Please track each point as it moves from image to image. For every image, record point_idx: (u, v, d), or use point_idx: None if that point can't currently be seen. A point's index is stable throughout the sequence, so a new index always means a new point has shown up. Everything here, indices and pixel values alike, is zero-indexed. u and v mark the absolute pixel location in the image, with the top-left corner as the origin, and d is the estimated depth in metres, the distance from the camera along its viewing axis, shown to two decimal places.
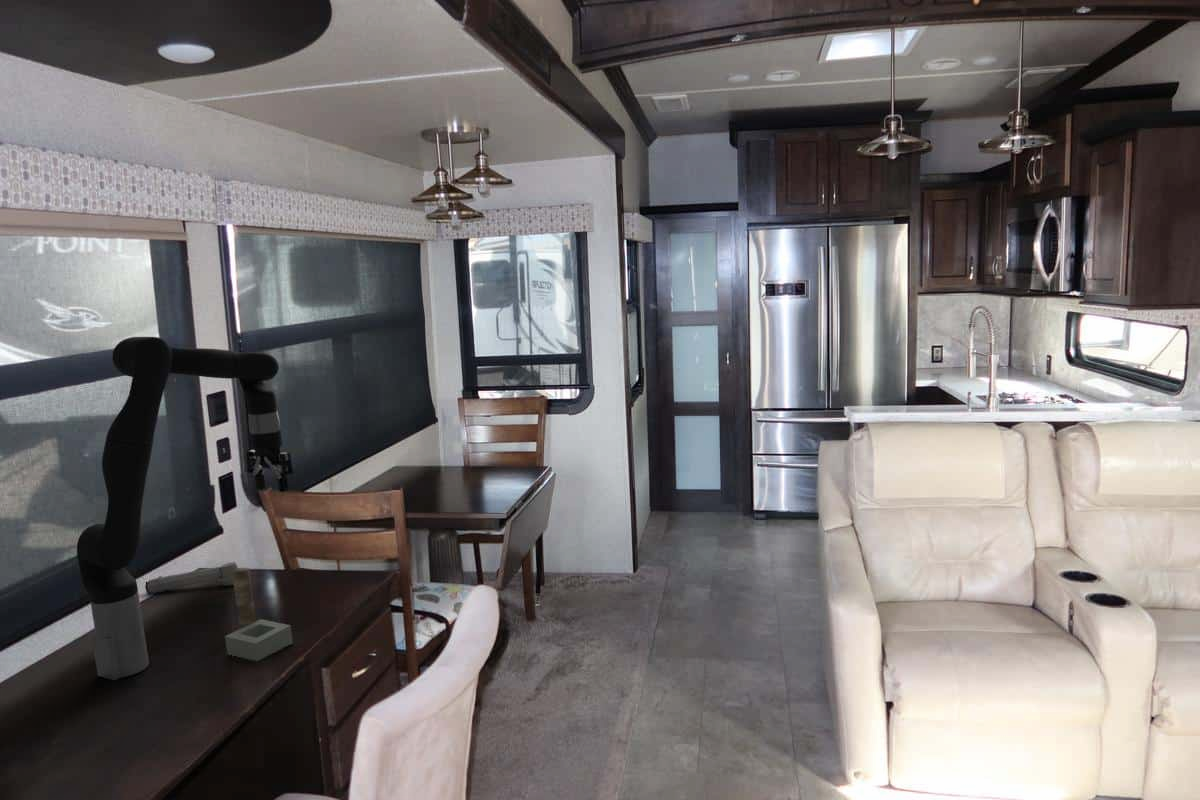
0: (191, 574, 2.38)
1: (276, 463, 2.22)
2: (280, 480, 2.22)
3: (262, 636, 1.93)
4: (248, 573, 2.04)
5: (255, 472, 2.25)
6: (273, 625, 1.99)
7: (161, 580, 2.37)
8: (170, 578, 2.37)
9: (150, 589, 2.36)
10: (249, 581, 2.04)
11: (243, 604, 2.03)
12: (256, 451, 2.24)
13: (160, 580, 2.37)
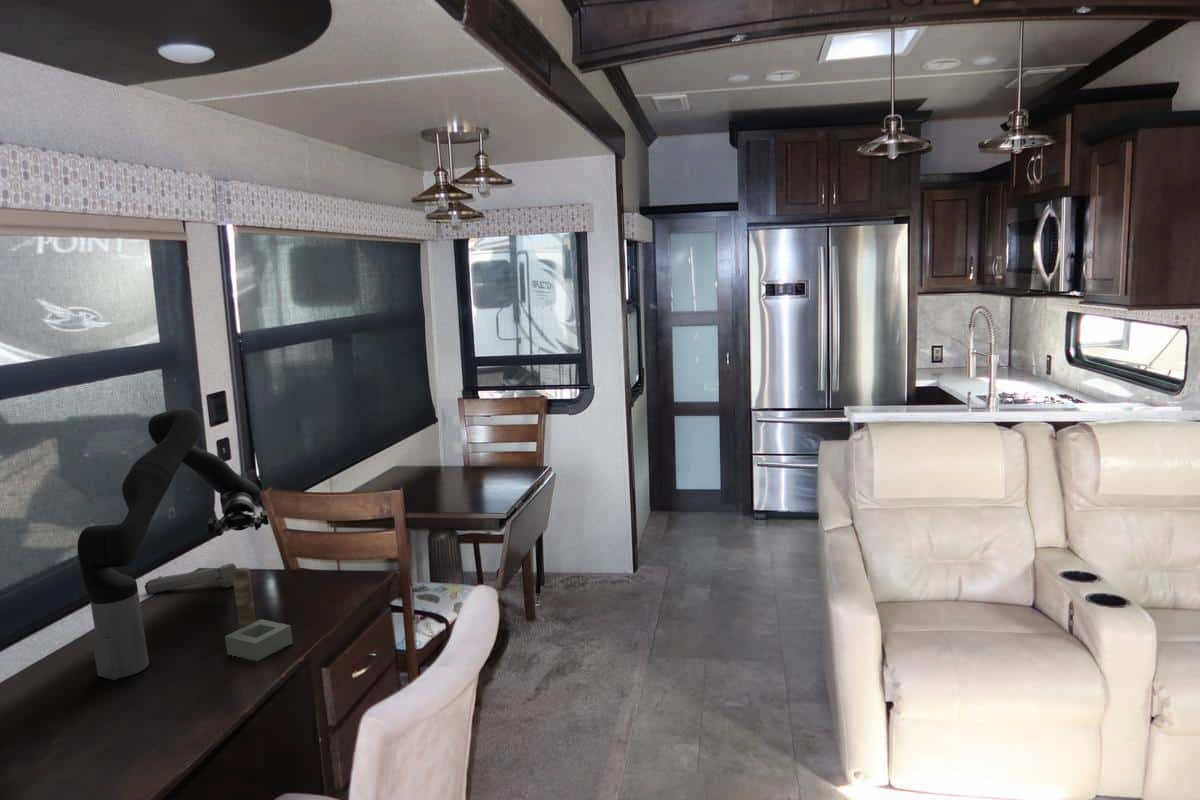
0: (190, 575, 2.38)
1: None
2: (257, 519, 2.17)
3: (262, 636, 1.93)
4: (248, 573, 2.04)
5: (220, 522, 2.16)
6: (273, 625, 1.99)
7: (160, 580, 2.37)
8: (169, 578, 2.37)
9: (150, 589, 2.36)
10: (249, 581, 2.04)
11: (243, 604, 2.03)
12: (226, 515, 2.21)
13: (159, 580, 2.37)
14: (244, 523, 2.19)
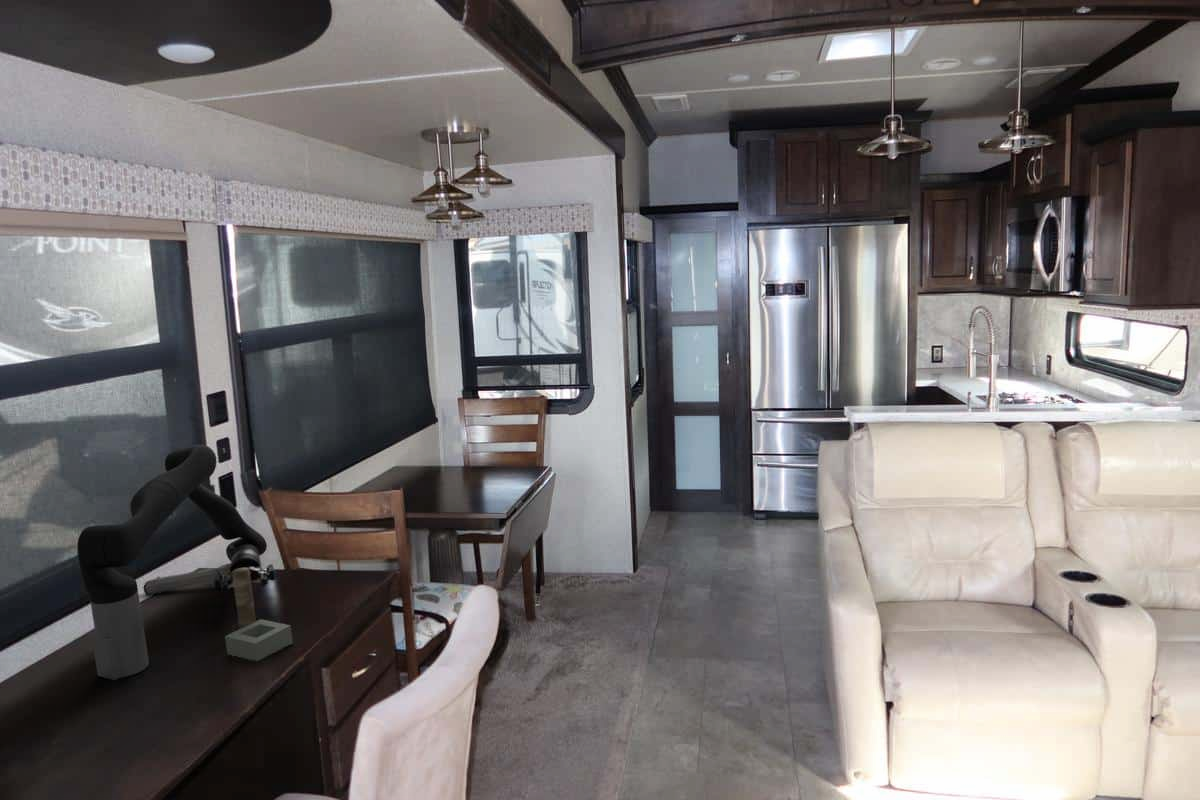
0: (189, 575, 2.37)
1: None
2: (263, 575, 2.17)
3: (262, 636, 1.93)
4: (248, 573, 2.04)
5: (226, 578, 2.16)
6: (273, 625, 1.99)
7: (159, 581, 2.36)
8: (168, 579, 2.37)
9: (148, 590, 2.36)
10: (249, 581, 2.04)
11: (243, 604, 2.03)
12: None
13: (158, 581, 2.36)
14: None
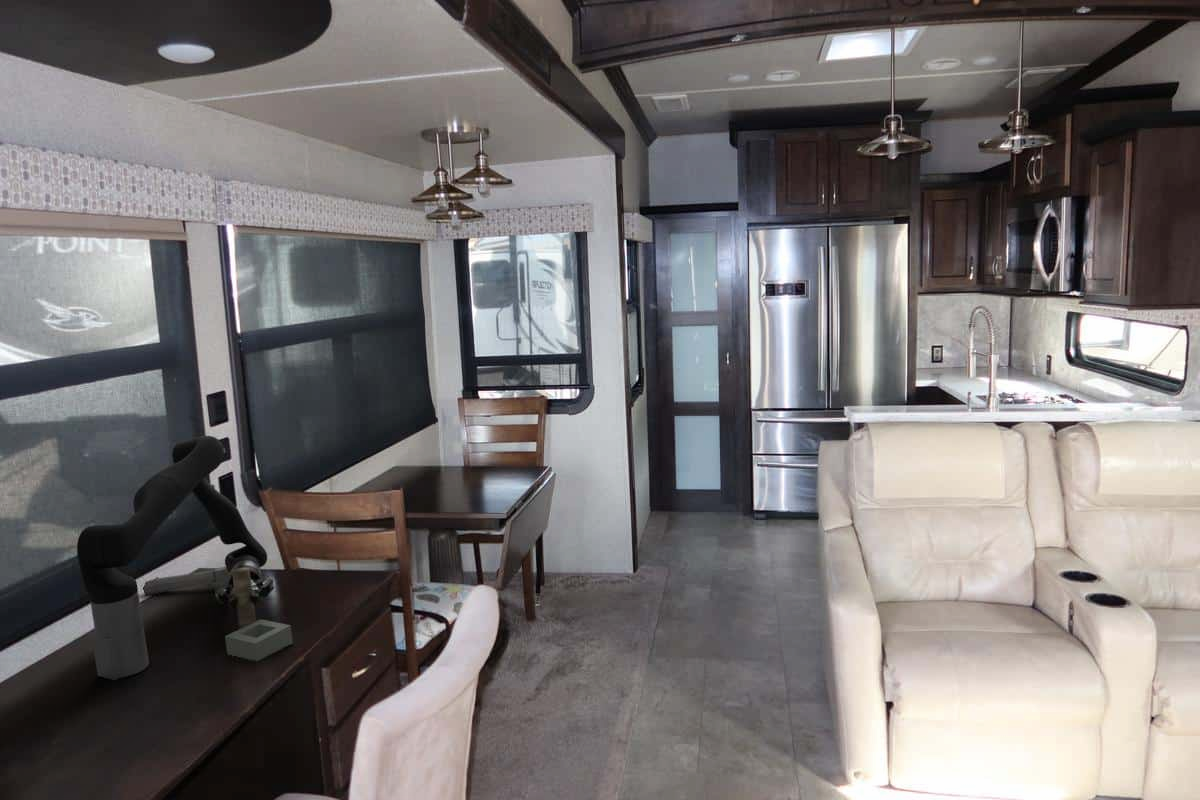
0: (186, 577, 2.36)
1: None
2: (255, 592, 2.06)
3: (262, 636, 1.93)
4: (248, 573, 2.04)
5: (234, 592, 2.06)
6: (273, 625, 1.99)
7: (157, 581, 2.36)
8: (165, 580, 2.36)
9: (146, 590, 2.35)
10: (249, 581, 2.04)
11: (243, 604, 2.03)
12: (230, 584, 2.12)
13: (156, 581, 2.36)
14: None
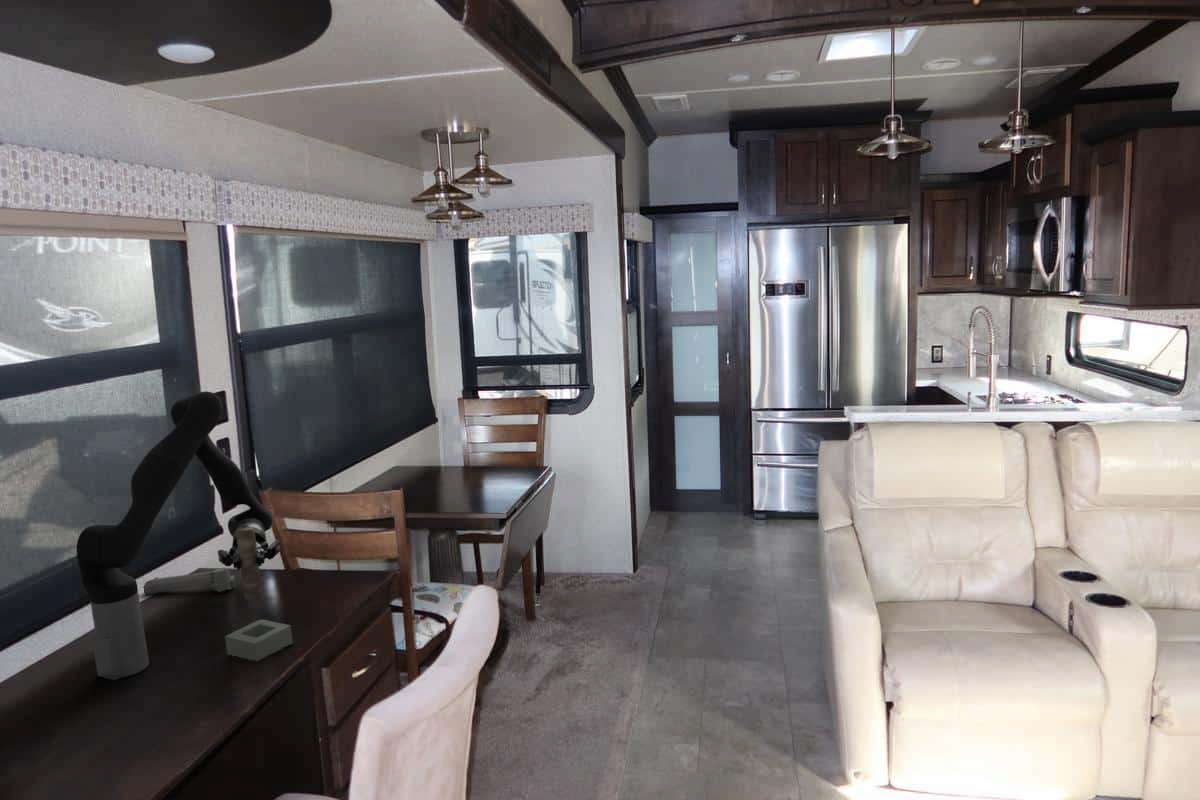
0: (184, 577, 2.36)
1: None
2: (260, 553, 1.95)
3: (262, 636, 1.93)
4: (253, 533, 1.93)
5: (238, 553, 1.95)
6: (273, 625, 1.99)
7: (156, 582, 2.36)
8: (164, 580, 2.36)
9: (145, 590, 2.36)
10: (254, 541, 1.93)
11: (247, 566, 1.92)
12: (233, 546, 2.00)
13: (155, 581, 2.36)
14: None
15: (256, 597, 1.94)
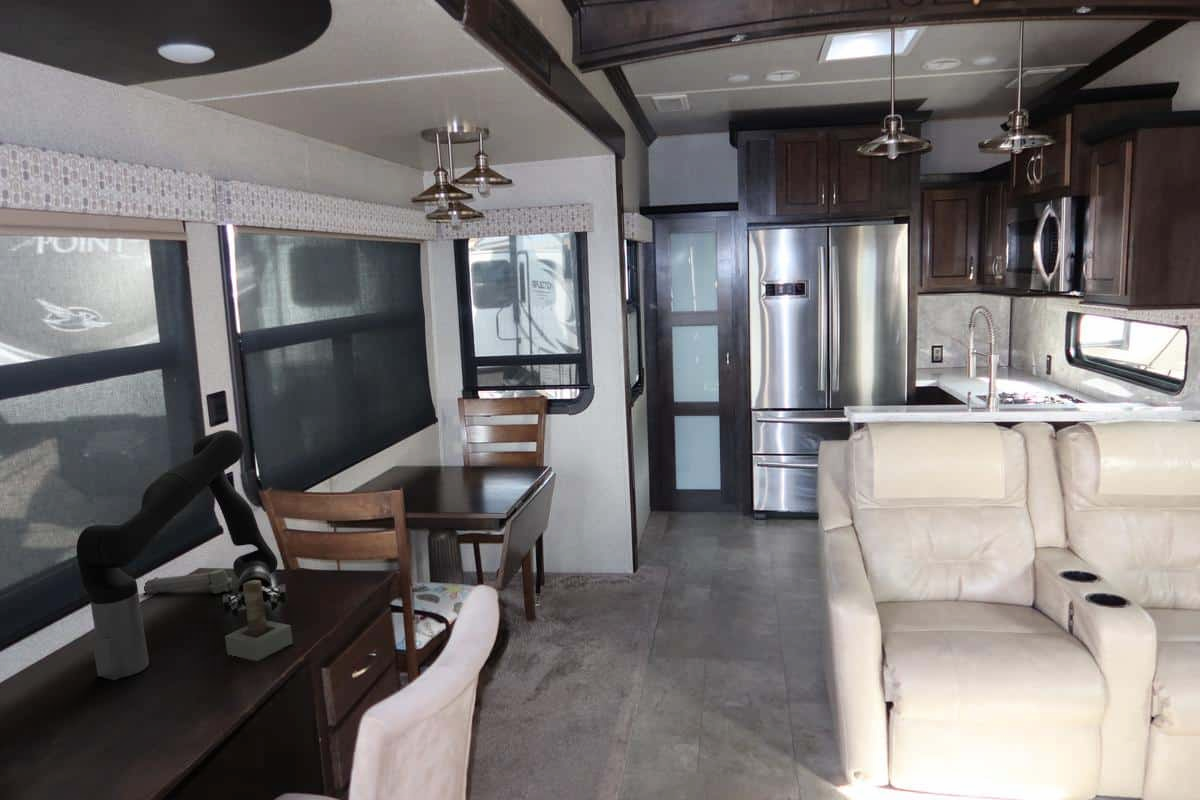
0: (182, 578, 2.35)
1: None
2: (273, 597, 1.98)
3: (262, 636, 1.93)
4: (260, 586, 1.95)
5: (236, 600, 1.96)
6: (273, 625, 1.99)
7: (155, 582, 2.36)
8: (163, 580, 2.36)
9: (145, 590, 2.36)
10: (261, 594, 1.95)
11: (254, 619, 1.94)
12: (240, 591, 2.02)
13: (154, 581, 2.36)
14: None
15: None
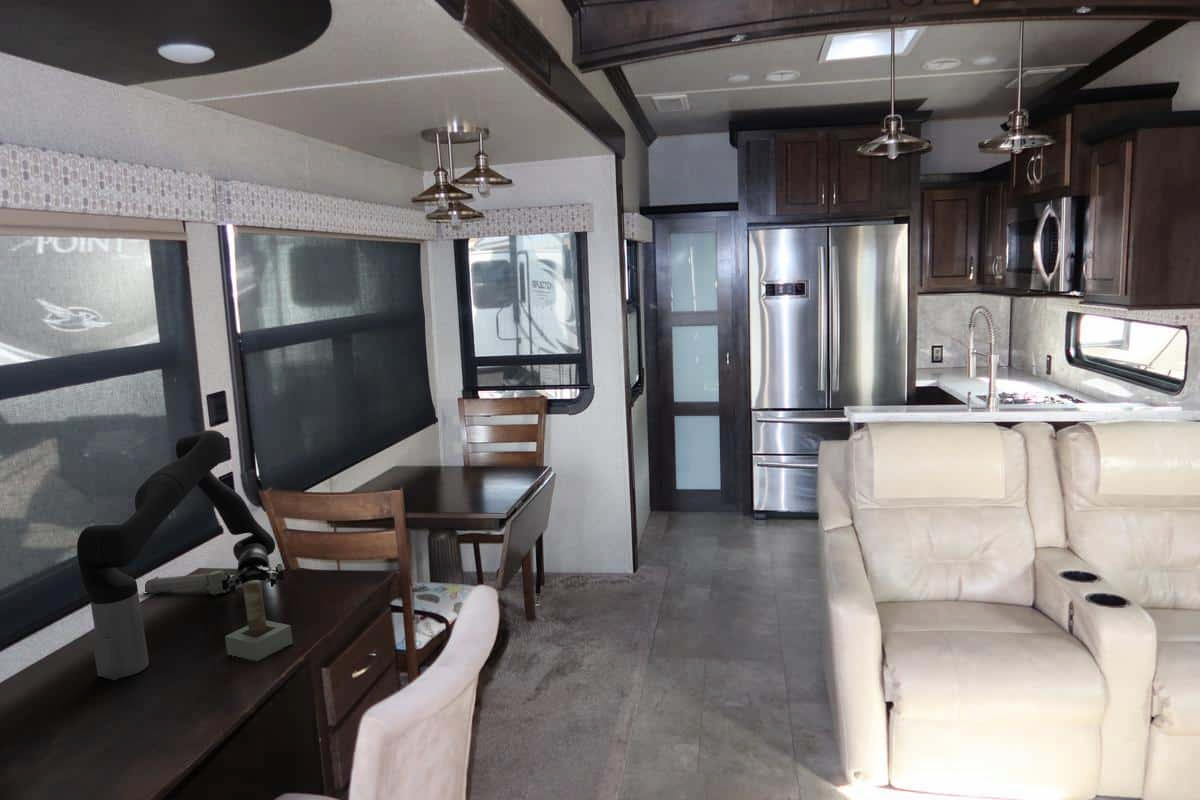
0: (181, 578, 2.35)
1: None
2: (272, 575, 2.10)
3: (262, 636, 1.93)
4: (260, 586, 1.95)
5: (234, 578, 2.08)
6: (273, 625, 1.99)
7: (155, 581, 2.36)
8: (163, 580, 2.36)
9: (145, 589, 2.36)
10: (261, 594, 1.95)
11: (254, 619, 1.94)
12: (240, 570, 2.14)
13: (154, 581, 2.36)
14: (259, 579, 2.12)
15: None
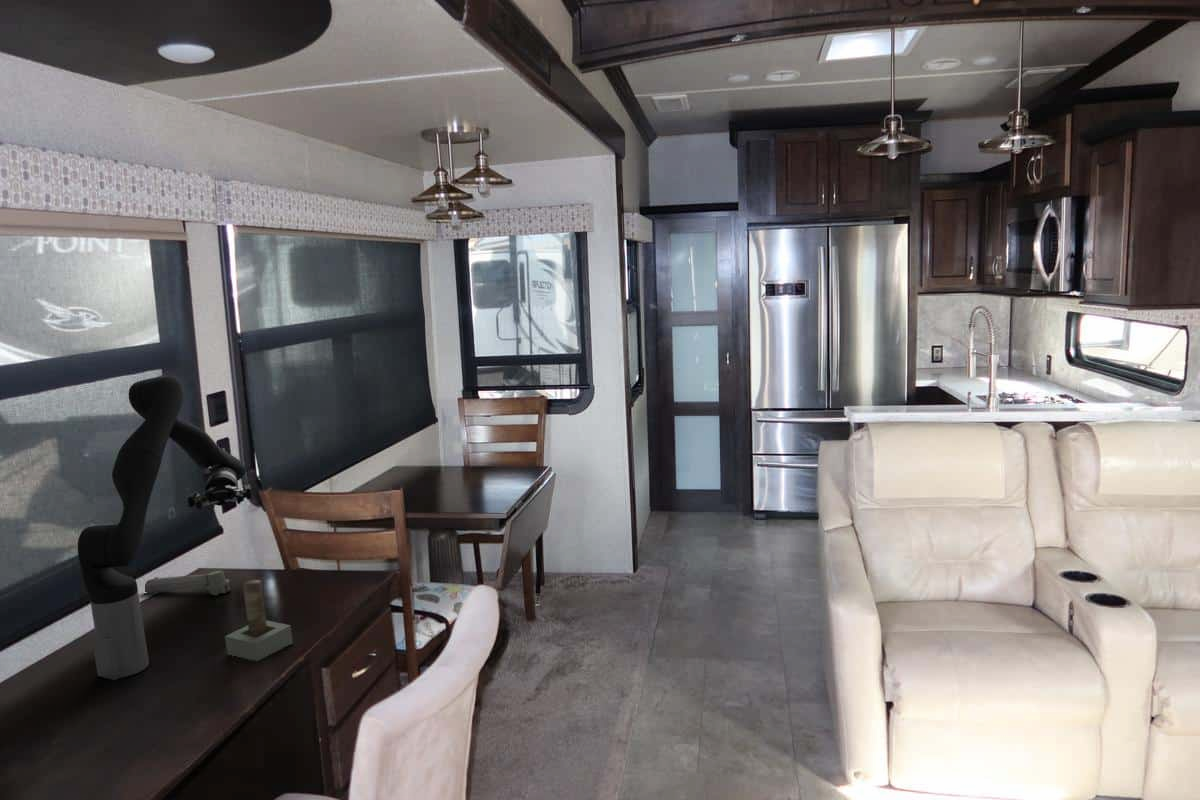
0: (181, 579, 2.35)
1: None
2: (239, 493, 2.09)
3: (262, 636, 1.93)
4: (260, 586, 1.95)
5: (200, 495, 2.07)
6: (273, 625, 1.99)
7: (155, 582, 2.36)
8: (162, 580, 2.36)
9: None
10: (261, 594, 1.95)
11: (254, 619, 1.94)
12: None
13: (154, 581, 2.36)
14: (226, 497, 2.11)
15: None
